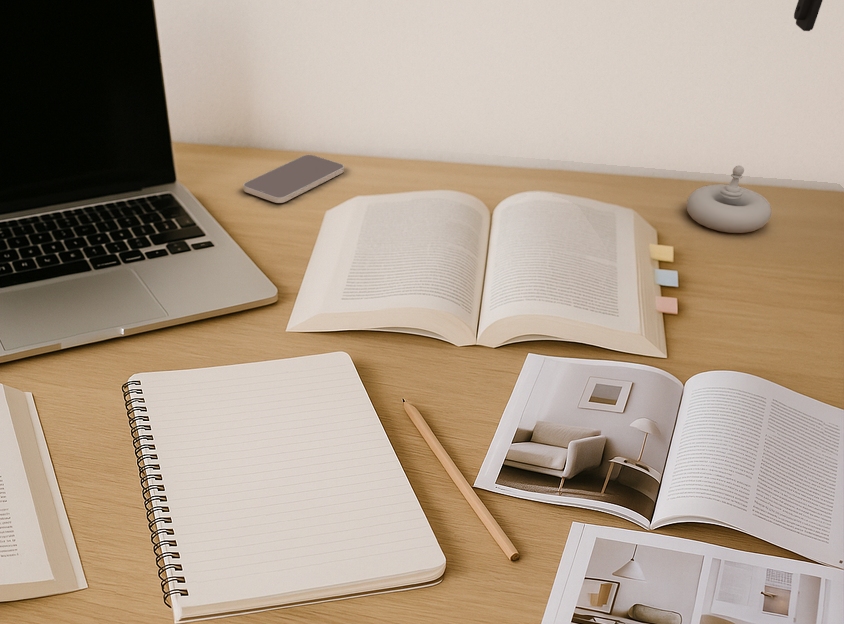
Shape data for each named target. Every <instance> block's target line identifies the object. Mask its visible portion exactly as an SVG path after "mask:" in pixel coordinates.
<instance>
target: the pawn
mask: <svg viewBox="0 0 844 624" xmlns="http://www.w3.org/2000/svg"><path fill="white" fill-rule="evenodd" d="M744 172H745V169H744V166H742V165H735V166H734V167H733V169H732V173H731V174H730V176H731V178H732V179H731V180H730V182H729V183H728V184H725V185H726V186H724V187H722V188H721V192H720V195H721V196H722V197H724V198H727V199H740V198H741V195H742V194H743V191H742V190H741V188H740V187H741V186H740V185H739V180H740V179H742V178H743V174H744Z"/></svg>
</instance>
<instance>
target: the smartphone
mask: <svg viewBox="0 0 844 624" xmlns="http://www.w3.org/2000/svg"><path fill="white" fill-rule="evenodd" d="M344 172H345V165H344V164H342V163H341V162H340V163H339V162H337V161H333V160H330V159H327V158H325V157H320V156H317V155H313V154H305V155H302V156H299V157H298V158H295V159H294V160H290V161H288V162H287V163H284V164H282V165H280V166H278V167H276V168H274V169H271V170H269V171H267V172H265V173H263V174H261V175H258V176H256V177H254V178H252V179H250V180H248V181H246V182H244V183H243V185H242V186H243V187H242V188H243V192H245V193H247V194H250V195H252V196H256V197H259V198H261V199H264V200H265V201H269V202H272V203H276V204H283V203H286V202H288V201H290V200H291V199H294V198H296V197H297V196H300V195H302V194H304V193H306V192H309V190H312V189H314V188H316V187H319V186H320V185H321V184H324V183H325V182H327V181H330V180H331V179H333V178H335V177H337V176H339V175H341V174H343V173H344Z"/></svg>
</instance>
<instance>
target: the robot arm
mask: <svg viewBox="0 0 844 624" xmlns="http://www.w3.org/2000/svg"><path fill="white" fill-rule="evenodd" d="M823 1H824V0H798V1H797V3H796V6H795V9H794V13H793V18H794V20H795V24H796V26H797V27H798V28H799V29H801V30H802V31H803V32H811V31H813V29H814V27H815V24H816V21H817V18H818V16H819V13H820V9H821V7H822V3H823Z"/></svg>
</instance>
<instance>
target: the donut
mask: <svg viewBox="0 0 844 624" xmlns="http://www.w3.org/2000/svg"><path fill="white" fill-rule="evenodd" d="M726 185H727V184H723V183H721V184H720V183H719V184H718V183H717V184H707V185H704V186H701V187H699V188H697V189H695V190H693V192H691V193H690V195H689V196H688V198H687V200H686V212H687V213H688V215H689V216H690V217H691V219H692V220H693V221H695V222H696V223H698V224H699V225H701V226H704V227H705V228H708V229H711V230H715V231H718V232H721V233H728V234H729V233H730V234H732V233H733V234H745V233H751V232H754V231H757V230H760V229H762V228H764V226H765V225H766V224H767V223H768V222H770V220H771V218H772V207H771V203H770V202H769V201H768V200H767V198H765V197H764V196H763V195H761V194H760V193H758V192H756V191H755V190H752V189H749V188H746V187H743V186H739V187H740V188H741V190H742V191H743V194H742V195H741V198H740V199H727V198H724V197H722V196H721V195H720V192H721V188H722V187H724V186H726Z"/></svg>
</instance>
